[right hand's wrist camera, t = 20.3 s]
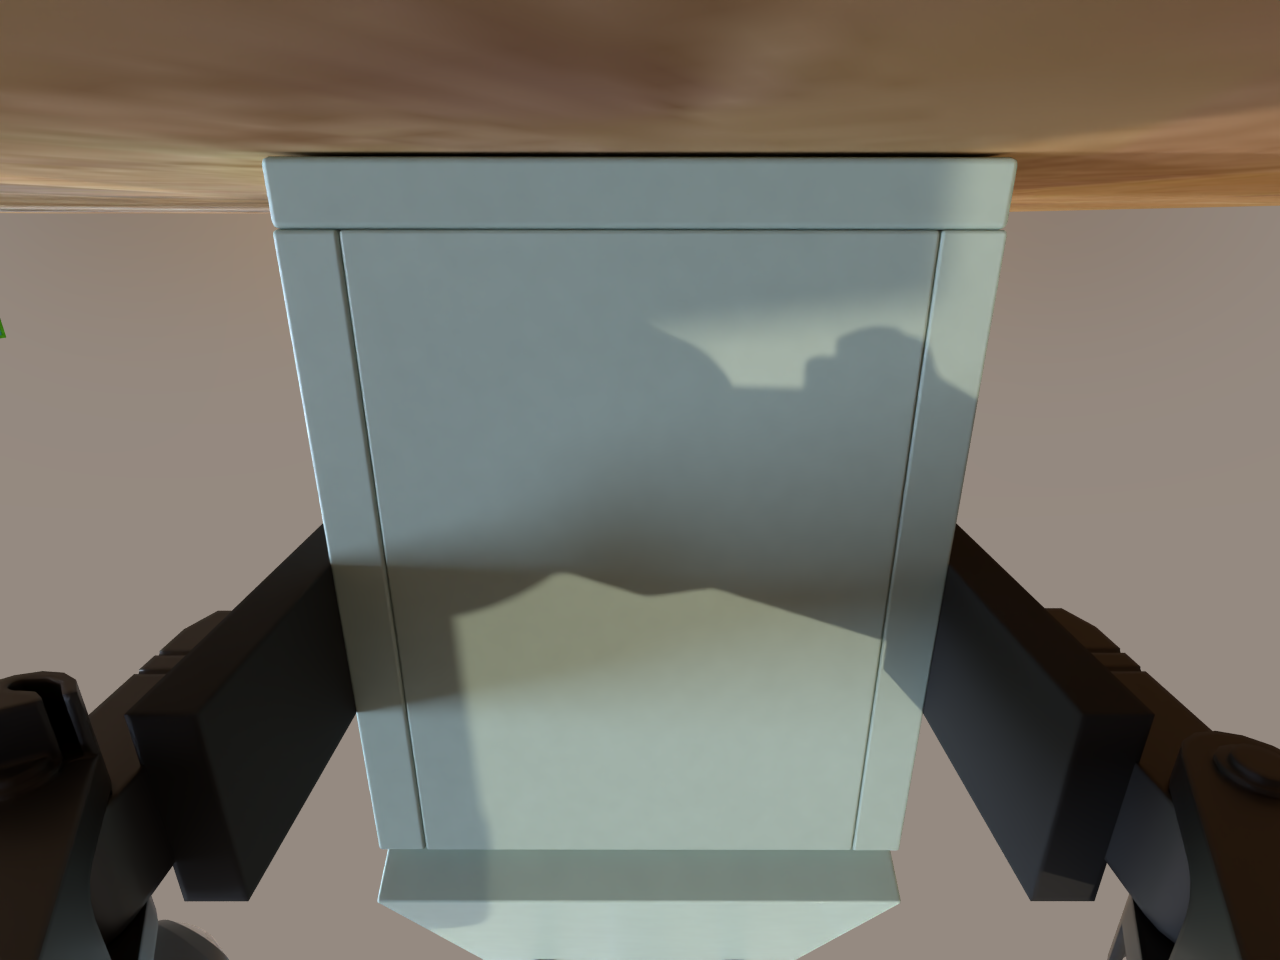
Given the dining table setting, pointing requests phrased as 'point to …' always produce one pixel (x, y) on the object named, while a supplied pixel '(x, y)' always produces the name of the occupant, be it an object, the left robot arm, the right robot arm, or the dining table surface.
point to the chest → (639, 481)
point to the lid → (638, 900)
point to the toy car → (2, 331)
